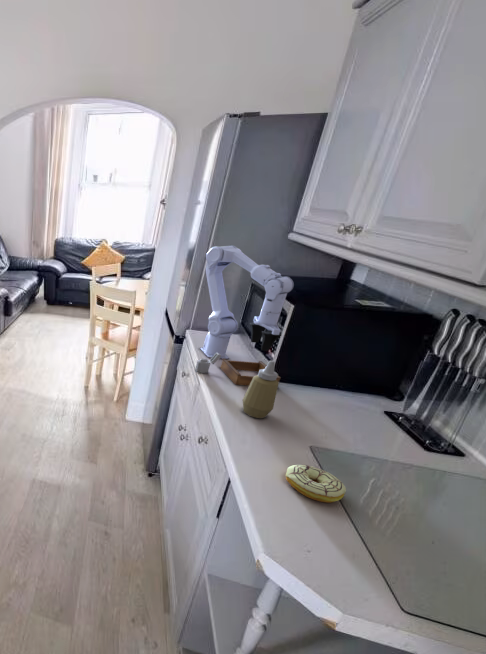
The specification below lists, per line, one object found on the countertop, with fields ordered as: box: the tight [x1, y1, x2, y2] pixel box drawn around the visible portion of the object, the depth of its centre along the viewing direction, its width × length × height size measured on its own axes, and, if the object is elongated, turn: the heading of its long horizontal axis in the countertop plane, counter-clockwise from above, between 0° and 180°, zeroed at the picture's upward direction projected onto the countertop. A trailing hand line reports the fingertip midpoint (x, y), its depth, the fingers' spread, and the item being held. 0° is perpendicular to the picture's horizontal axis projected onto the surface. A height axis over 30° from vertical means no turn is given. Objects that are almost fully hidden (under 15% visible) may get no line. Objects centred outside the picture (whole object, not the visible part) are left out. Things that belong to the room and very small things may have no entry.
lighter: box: [194, 353, 221, 374], centre depth 146 cm, size 7×2×8 cm, turn 81°
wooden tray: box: [219, 358, 281, 387], centre depth 143 cm, size 14×14×4 cm
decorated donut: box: [285, 464, 347, 503], centre depth 92 cm, size 10×11×4 cm
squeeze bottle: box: [242, 360, 280, 419], centre depth 118 cm, size 8×8×18 cm
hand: (259, 346), depth 145 cm, fingers open, 7 cm apart
